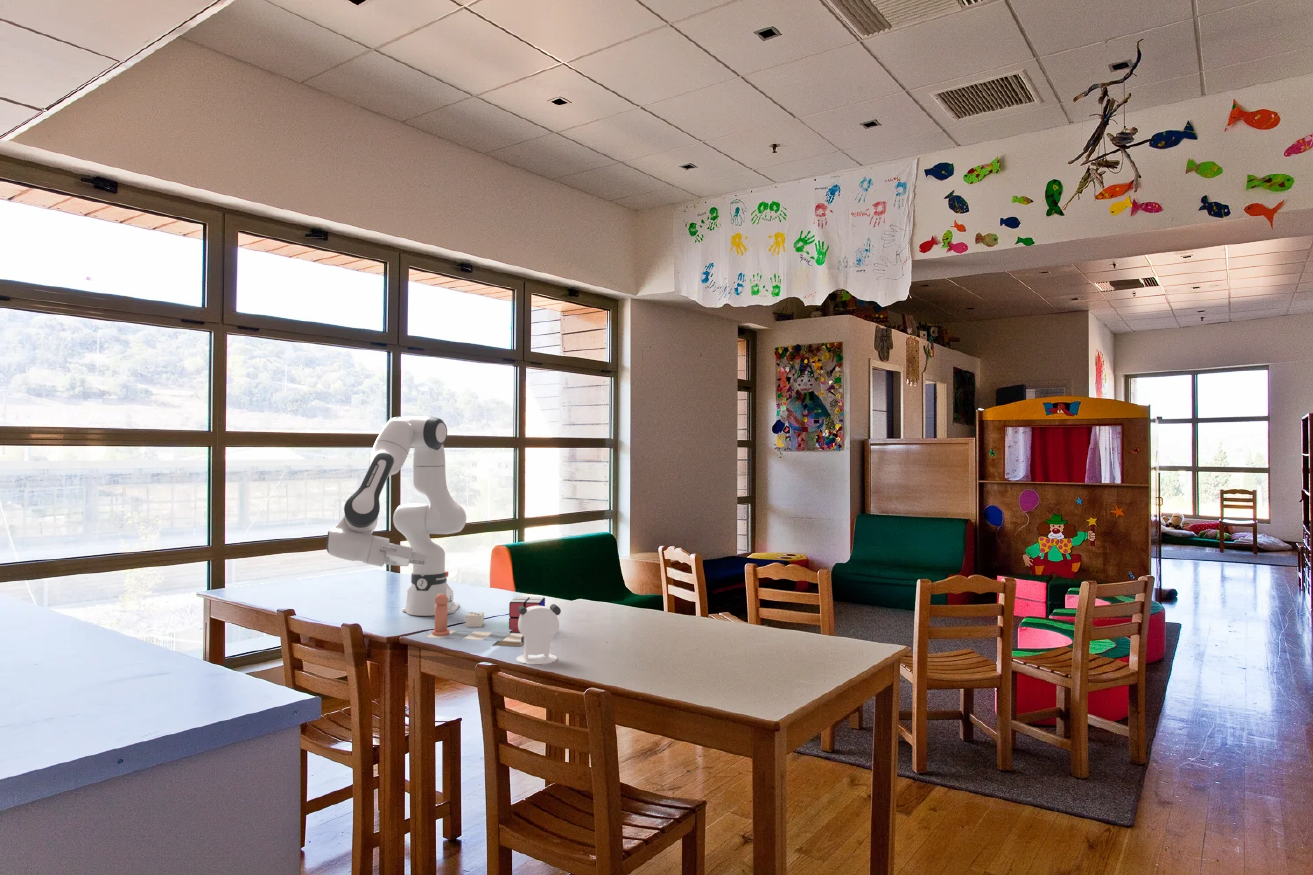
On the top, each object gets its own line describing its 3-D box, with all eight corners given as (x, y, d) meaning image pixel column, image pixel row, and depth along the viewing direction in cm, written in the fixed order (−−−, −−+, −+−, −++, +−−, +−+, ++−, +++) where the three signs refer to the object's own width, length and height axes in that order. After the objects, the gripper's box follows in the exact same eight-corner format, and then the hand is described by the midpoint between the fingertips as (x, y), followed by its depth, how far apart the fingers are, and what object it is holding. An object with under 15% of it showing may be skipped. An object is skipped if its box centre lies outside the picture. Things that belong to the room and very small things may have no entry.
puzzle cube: (539, 633, 258) (540, 602, 258) (508, 633, 258) (509, 601, 258) (544, 626, 268) (545, 596, 268) (514, 626, 268) (515, 596, 268)
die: (468, 627, 265) (468, 611, 265) (483, 627, 265) (483, 612, 265) (465, 630, 260) (465, 615, 260) (481, 631, 260) (481, 615, 260)
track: (438, 633, 255) (438, 629, 255) (530, 637, 252) (530, 633, 252) (424, 641, 244) (424, 637, 244) (520, 646, 241) (520, 641, 241)
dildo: (435, 631, 252) (436, 591, 253) (451, 632, 252) (452, 592, 252) (429, 635, 247) (430, 594, 247) (445, 636, 247) (446, 595, 247)
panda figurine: (553, 652, 234) (554, 601, 234) (563, 662, 223) (564, 608, 224) (512, 655, 230) (513, 603, 230) (520, 666, 219) (521, 611, 219)
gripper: (383, 536, 240) (430, 546, 244) (382, 546, 259) (426, 554, 263) (377, 557, 238) (425, 566, 242) (377, 565, 257) (421, 573, 260)
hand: (425, 560), depth 252 cm, fingers open, 8 cm apart
